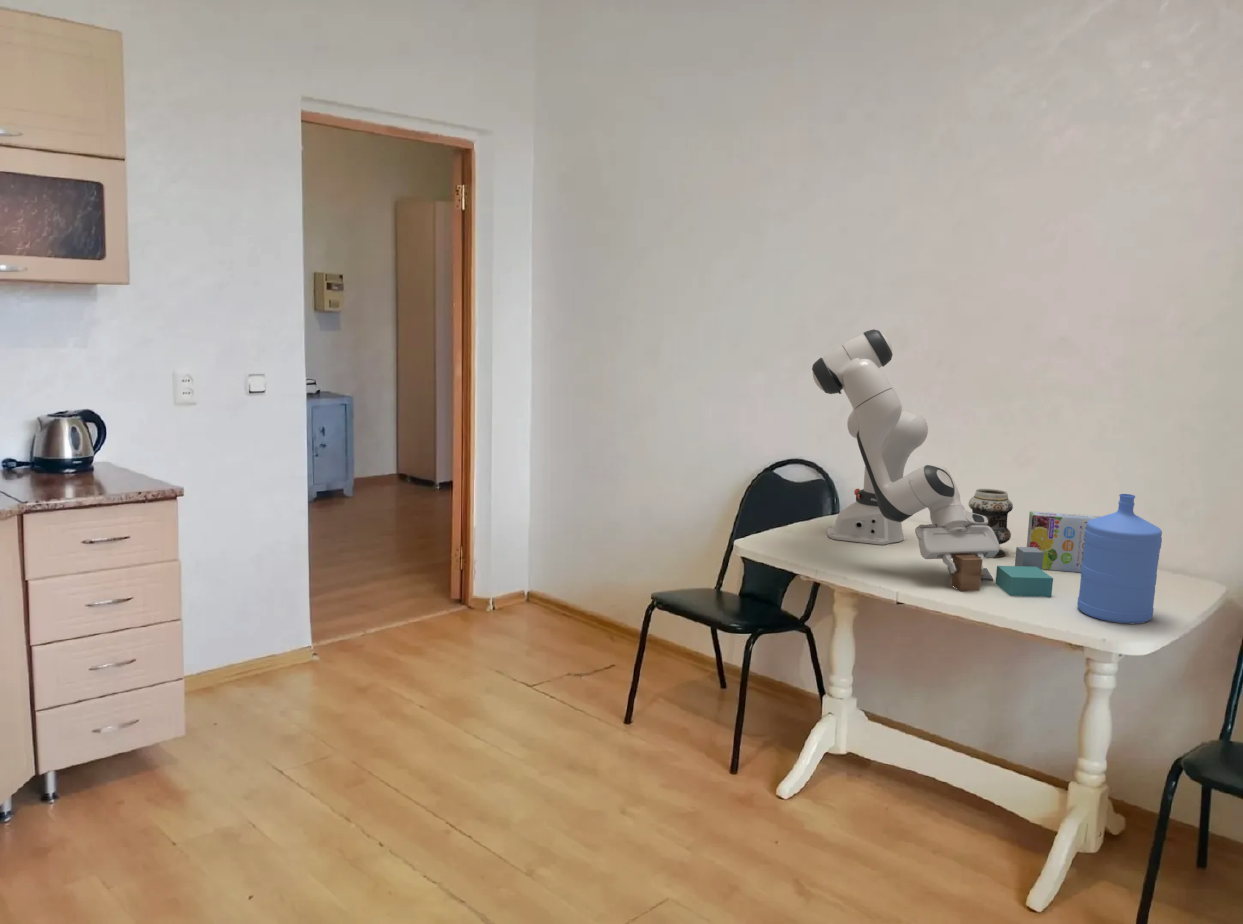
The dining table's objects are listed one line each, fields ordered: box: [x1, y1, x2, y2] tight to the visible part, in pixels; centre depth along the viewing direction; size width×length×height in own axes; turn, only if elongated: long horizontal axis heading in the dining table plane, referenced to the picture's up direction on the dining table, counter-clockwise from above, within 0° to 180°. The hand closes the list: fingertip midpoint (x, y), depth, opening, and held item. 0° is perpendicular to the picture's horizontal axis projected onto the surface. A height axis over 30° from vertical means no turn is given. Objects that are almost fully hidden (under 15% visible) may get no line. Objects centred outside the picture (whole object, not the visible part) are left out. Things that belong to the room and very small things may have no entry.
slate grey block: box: [1014, 546, 1044, 571], centre depth 247 cm, size 5×5×8 cm
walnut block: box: [950, 554, 983, 592], centre depth 239 cm, size 5×5×8 cm
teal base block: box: [995, 565, 1054, 598], centre depth 239 cm, size 10×10×5 cm
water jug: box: [1076, 493, 1163, 624], centre depth 220 cm, size 16×16×28 cm
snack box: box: [1026, 510, 1103, 574], centre depth 257 cm, size 21×6×15 cm, turn 74°
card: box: [946, 565, 994, 582], centre depth 252 cm, size 10×10×1 cm
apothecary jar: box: [968, 488, 1014, 558], centre depth 272 cm, size 12×12×18 cm
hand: (967, 571), depth 238 cm, fingers closed on walnut block, 5 cm apart
